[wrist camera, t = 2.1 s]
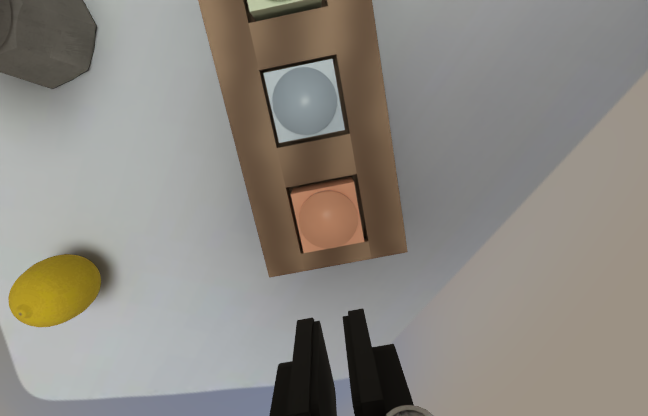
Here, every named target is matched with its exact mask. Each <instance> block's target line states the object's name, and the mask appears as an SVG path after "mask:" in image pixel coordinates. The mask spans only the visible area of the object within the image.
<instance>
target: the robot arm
mask: <svg viewBox="0 0 648 416" xmlns="http://www.w3.org/2000/svg"><path fill="white" fill-rule="evenodd" d="M348 315H349V316H343V324H344V333H345V342H346V351H347V360H348V369H349V378H350V386H351V394H352V402H353V408H354V414H355V416H433V415H432V414H431V413H430V412H428V411H427V410H426V409H423V408H421V407H419V406H414V405H413V402H412V398H411V395H410V392H409V389H408V386H407V383H406V380H405V377H404V374H403V370H402V367H401V364H400V361H399V358H398V355H397V352H396V349H395V346H394V344H389V345H384V346H378V347H372V346H371V341H370V337H369V332H368V328H367V323H366V319H365V314H364V310H363V309H358V310H352V311H348ZM270 416H337V412H336V395H335V387H334V382H333V377H332V373H331V368H330V364H329V360H328V355H327V351H326V346H325V342H324V337H323V333H322V328H321V324H320V321H315V322H314V319H313V318H308V319H302V320H298V321H297V326H296V335H295V344H294V352H293V361H291V362H286V363H280V364H279V365H278V369H277V375H276V381H275V387H274V393H273V398H272V404H271V410H270Z"/></svg>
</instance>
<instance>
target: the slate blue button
mask: <svg viewBox="0 0 648 416" xmlns="http://www.w3.org/2000/svg"><path fill="white" fill-rule="evenodd" d="M264 78H265V82H266V87H267V91H268V96H269V100H270V104H271V109H272V113H273V118H274V122H275V127H276V131H277V136H278V140H279V143H282V142H287V141H292V140H297V139H302V138H307V137H312V136H317V135H322V134H327V133H332V132H337V131H342V130H345V128H344V122H343V116H342V111H341V105H340V99H339V93H338V88H337V82H336V76H335V70H334V65H333V59H329V60H324V61H319V62H314V63H309V64H305V65H300V66H295V67H290V68H285V69H281V70H276V71H271V72H266V73H264Z"/></svg>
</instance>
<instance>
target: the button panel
mask: <svg viewBox="0 0 648 416" xmlns="http://www.w3.org/2000/svg"><path fill="white" fill-rule="evenodd" d="M198 1H199V5H200V9H201V13H202V17H203V21H204V25H205V29H206V33H207V36H208V40H209V44H210V48H211V52H212V56H213V60H214V64H215V68H216V72H217V75H218V79H219V83H220V87H221V91H222V95H223V99H224V103H225V107H226V111H227V114H228V118H229V122H230V126H231V130H232V134H233V138H234V142H235V146H236V149H237V153H238V157H239V161H240V165H241V169H242V173H243V177H244V181H245V185H246V188H247V192H248V196H249V200H250V204H251V208H252V212H253V216H254V220H255V224H256V227H257V231H258V235H259V239H260V243H261V247H262V251H263V255H264V259H265V262H266V266H267V270H268V274H269V277H275V276H280V275H285V274H291V273H296V272H302V271H307V270H313V269H318V268H324V267H329V266H334V265H340V264H345V263H351V262H356V261H362V260H367V259H373V258H378V257H383V256H389V255H394V254H400V253H405V252H407V245H406V237H405V230H404V223H403V216H402V209H401V202H400V195H399V188H398V181H397V174H396V167H395V160H394V153H393V146H392V139H391V132H390V125H389V118H388V111H387V104H386V97H385V89H384V82H383V75H382V68H381V61H380V54H379V47H378V40H377V33H376V26H375V19H374V12H373V5H372V0H322V2H321V8H317V9H312V10H308V11H303V12H298V13H294V14H289V15H284V16H280V17H275V18H270V19H265V20H261V21H256V20H255V19H254V17H253V16H252V14H251V13H250V11H249V6H248V2H247V0H198ZM329 59H333V65H334V70H335V76H336V82H337V88H338V93H339V99H340V105H341V111H342V116H343V122H344V128H345V130H342V131H337V132H332V133H327V134H322V135H317V136H312V137H307V138H302V139H297V140H292V141H287V142H282V143H279V140H278V136H277V131H276V127H275V122H274V118H273V113H272V109H271V104H270V100H269V96H268V91H267V87H266V82H265V78H264V73H266V72H271V71H276V70H281V69H285V68H290V67H295V66H300V65H305V64H309V63H314V62H319V61H324V60H329ZM347 177H352V179H353V181H354V185H355V191H356V196H357V202H358V208H359V214H360V219H361V225H362V231H363V236H364V242H361V243H356V244H351V245H345V246H340V247H336V248H329V249H324V250H318V251H313V252H308V253H304V252H303V247H302V243H301V238H300V234H299V229H298V225H297V220H296V216H295V211H294V207H293V203H292V198H291V192H292V189H293V188H295V187H300V186H306V185H311V184H316V183H321V182H326V181H331V180H337V179H342V178H347Z"/></svg>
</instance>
